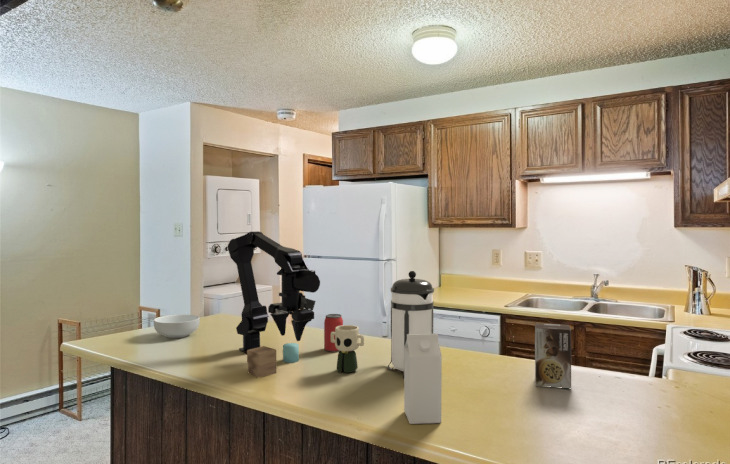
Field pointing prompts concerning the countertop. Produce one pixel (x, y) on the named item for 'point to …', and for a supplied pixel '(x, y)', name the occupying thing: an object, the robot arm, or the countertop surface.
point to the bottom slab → (262, 369)
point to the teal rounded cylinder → (291, 352)
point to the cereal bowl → (176, 325)
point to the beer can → (331, 330)
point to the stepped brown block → (261, 355)
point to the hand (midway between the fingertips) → (290, 338)
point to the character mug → (347, 346)
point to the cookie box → (552, 355)
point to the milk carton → (422, 378)
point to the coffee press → (409, 314)
